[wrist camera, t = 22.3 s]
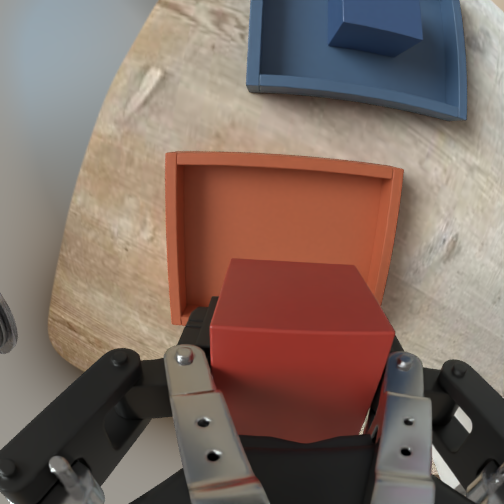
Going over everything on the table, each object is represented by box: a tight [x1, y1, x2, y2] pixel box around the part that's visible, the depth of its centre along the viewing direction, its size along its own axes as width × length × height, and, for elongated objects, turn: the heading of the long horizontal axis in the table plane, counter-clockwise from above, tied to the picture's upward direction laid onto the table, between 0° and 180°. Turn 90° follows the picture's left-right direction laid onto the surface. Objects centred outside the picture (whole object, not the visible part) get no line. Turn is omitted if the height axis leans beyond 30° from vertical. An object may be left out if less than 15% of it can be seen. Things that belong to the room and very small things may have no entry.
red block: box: [209, 258, 395, 443], centre depth 11 cm, size 5×5×5 cm
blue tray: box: [246, 0, 467, 121], centre depth 17 cm, size 16×13×3 cm
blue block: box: [328, 0, 423, 58], centre depth 15 cm, size 5×5×5 cm
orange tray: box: [165, 151, 404, 326], centre depth 23 cm, size 16×13×3 cm
